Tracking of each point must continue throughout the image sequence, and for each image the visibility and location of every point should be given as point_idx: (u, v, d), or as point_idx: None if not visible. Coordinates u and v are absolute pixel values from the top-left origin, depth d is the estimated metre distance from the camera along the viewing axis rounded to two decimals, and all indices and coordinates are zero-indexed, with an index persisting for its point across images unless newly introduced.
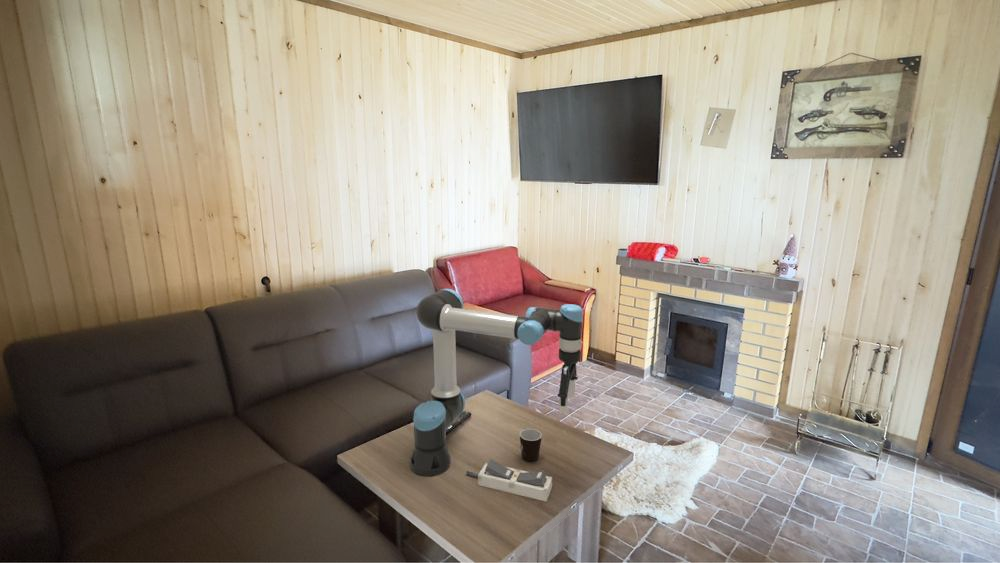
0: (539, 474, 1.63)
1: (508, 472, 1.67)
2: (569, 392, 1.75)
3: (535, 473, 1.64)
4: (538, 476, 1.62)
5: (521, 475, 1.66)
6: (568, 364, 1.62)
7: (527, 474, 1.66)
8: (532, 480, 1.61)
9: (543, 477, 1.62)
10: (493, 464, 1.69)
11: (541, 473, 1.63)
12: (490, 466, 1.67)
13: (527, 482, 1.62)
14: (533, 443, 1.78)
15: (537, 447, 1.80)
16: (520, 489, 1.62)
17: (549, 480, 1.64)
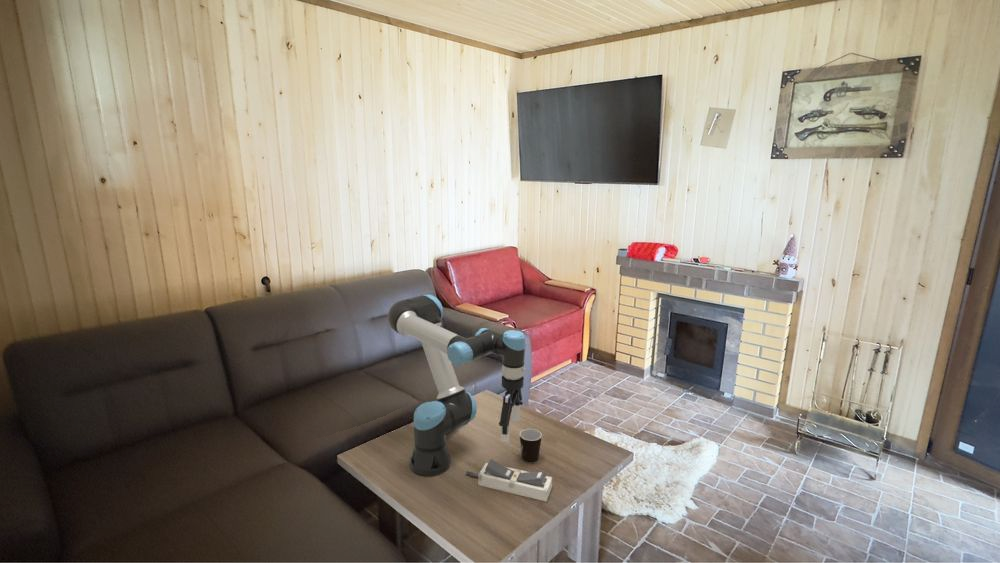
0: (539, 474, 1.63)
1: (508, 472, 1.67)
2: (514, 417, 1.72)
3: (535, 473, 1.64)
4: (538, 476, 1.62)
5: (521, 475, 1.66)
6: (510, 392, 1.59)
7: (527, 474, 1.66)
8: (532, 480, 1.61)
9: (543, 477, 1.62)
10: (493, 464, 1.69)
11: (541, 473, 1.63)
12: (490, 466, 1.67)
13: (527, 482, 1.62)
14: (533, 443, 1.78)
15: (537, 447, 1.80)
16: (520, 489, 1.62)
17: (549, 480, 1.64)
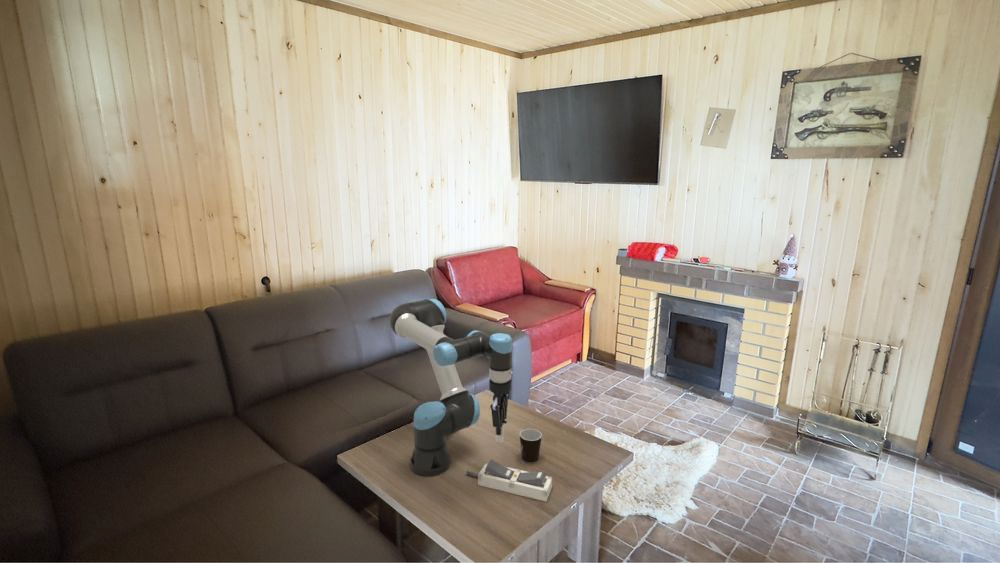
0: (539, 474, 1.63)
1: (508, 472, 1.67)
2: None
3: (535, 473, 1.64)
4: (538, 476, 1.62)
5: (521, 475, 1.66)
6: (497, 395, 1.57)
7: (527, 474, 1.66)
8: (532, 480, 1.61)
9: (543, 477, 1.62)
10: (493, 464, 1.69)
11: (541, 473, 1.63)
12: (490, 466, 1.67)
13: (527, 482, 1.62)
14: (533, 443, 1.78)
15: (537, 447, 1.80)
16: (520, 489, 1.62)
17: (549, 480, 1.64)
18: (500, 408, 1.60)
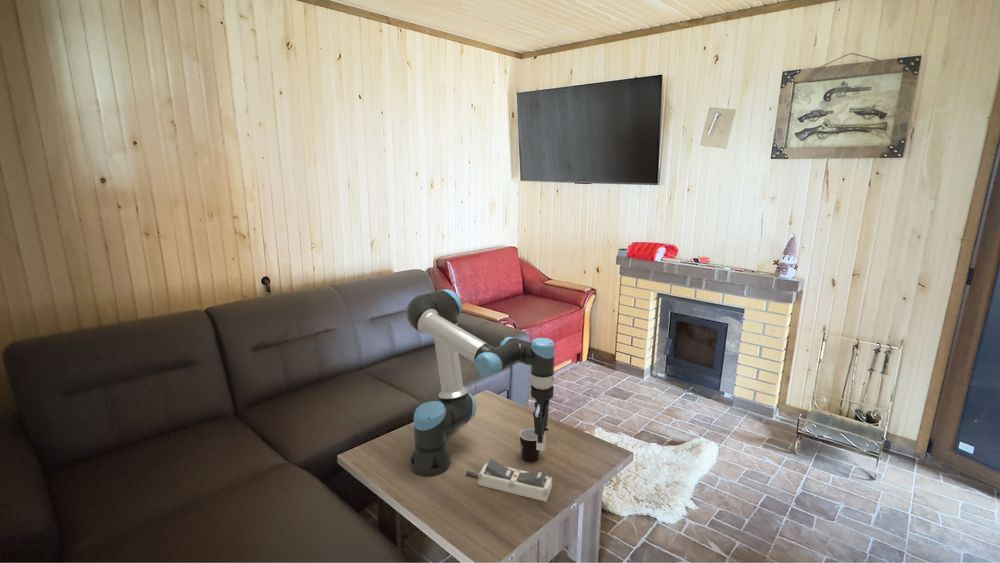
0: (539, 474, 1.63)
1: (508, 472, 1.67)
2: None
3: (535, 473, 1.64)
4: (538, 476, 1.62)
5: (521, 475, 1.66)
6: (540, 402, 1.52)
7: (527, 474, 1.66)
8: (532, 480, 1.61)
9: (543, 477, 1.62)
10: (493, 464, 1.69)
11: (541, 473, 1.63)
12: (490, 466, 1.67)
13: (527, 482, 1.62)
14: (533, 443, 1.78)
15: None
16: (520, 489, 1.62)
17: (549, 480, 1.64)
18: (542, 415, 1.55)
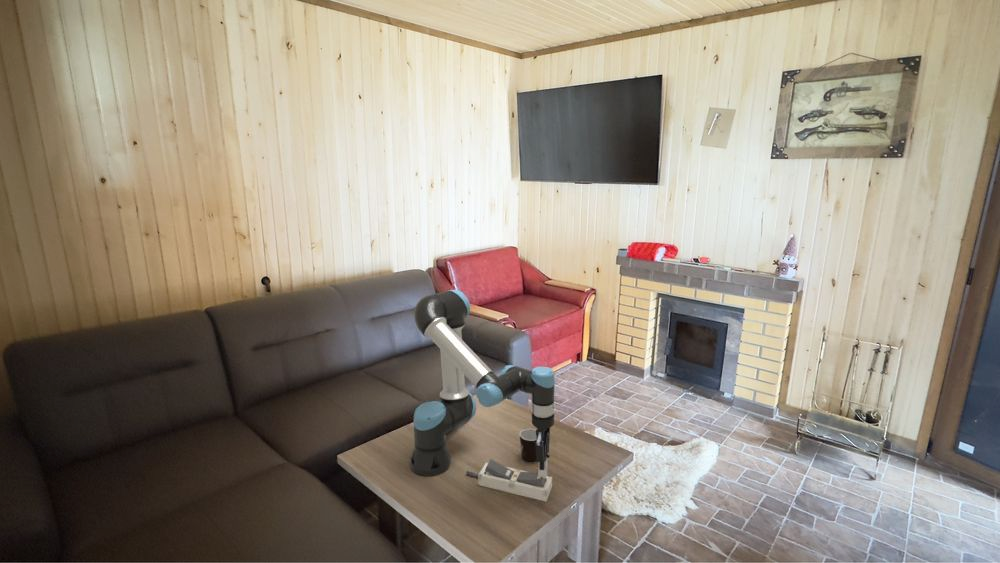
0: None
1: (508, 472, 1.67)
2: None
3: (535, 473, 1.64)
4: (539, 477, 1.62)
5: (521, 474, 1.66)
6: (541, 430, 1.55)
7: (527, 473, 1.66)
8: (533, 480, 1.61)
9: (543, 478, 1.62)
10: (493, 464, 1.69)
11: None
12: (490, 466, 1.67)
13: (527, 482, 1.62)
14: (533, 443, 1.78)
15: None
16: (520, 489, 1.62)
17: (549, 480, 1.64)
18: (543, 443, 1.57)
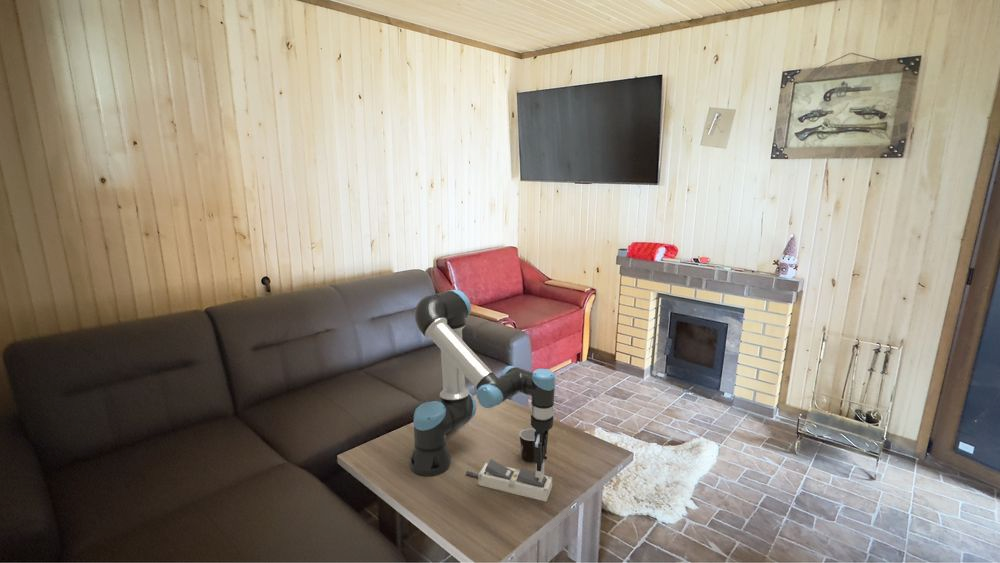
0: None
1: (508, 472, 1.67)
2: None
3: None
4: (540, 480, 1.62)
5: (522, 471, 1.65)
6: (540, 432, 1.55)
7: (528, 472, 1.65)
8: (533, 482, 1.61)
9: (543, 483, 1.63)
10: (493, 464, 1.69)
11: (543, 478, 1.63)
12: (490, 466, 1.67)
13: (527, 481, 1.62)
14: None
15: None
16: (520, 489, 1.62)
17: (549, 480, 1.64)
18: (542, 444, 1.58)
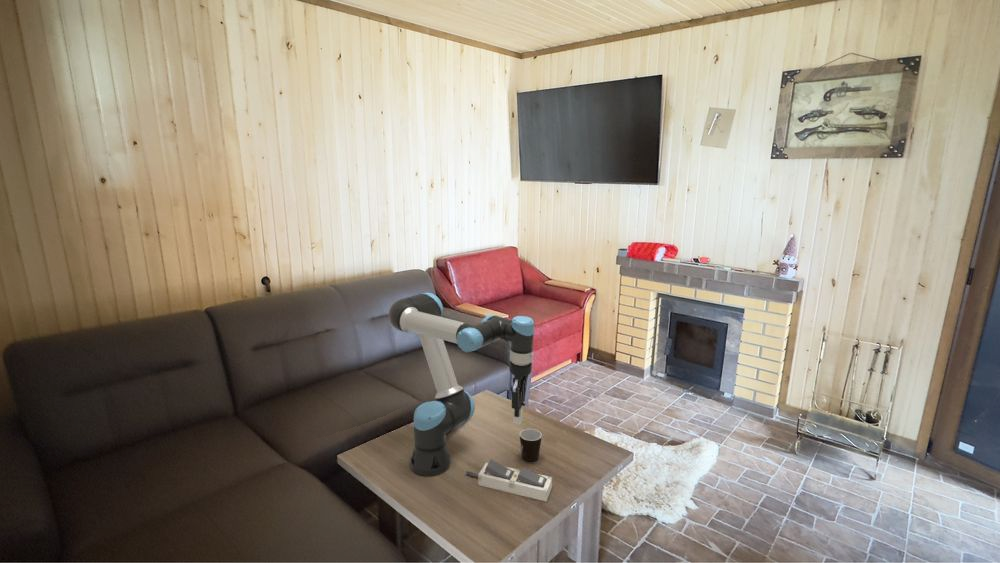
0: (541, 479, 1.63)
1: (508, 472, 1.67)
2: None
3: (537, 475, 1.64)
4: (540, 481, 1.62)
5: (522, 470, 1.65)
6: (518, 377, 1.58)
7: (528, 472, 1.65)
8: (533, 482, 1.61)
9: (543, 483, 1.63)
10: (493, 464, 1.69)
11: (543, 479, 1.63)
12: (490, 466, 1.67)
13: (527, 481, 1.62)
14: (533, 443, 1.78)
15: (537, 447, 1.80)
16: (520, 489, 1.62)
17: (549, 480, 1.64)
18: (520, 390, 1.61)
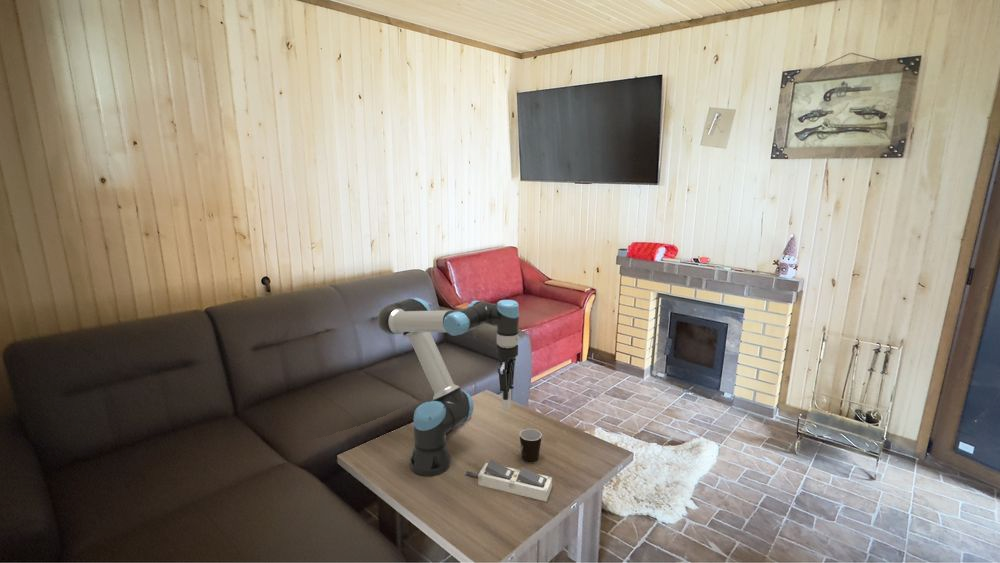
0: (541, 479, 1.63)
1: (508, 472, 1.67)
2: None
3: (537, 475, 1.64)
4: (540, 481, 1.62)
5: (523, 470, 1.65)
6: (505, 360, 1.62)
7: (528, 472, 1.65)
8: (533, 482, 1.61)
9: (543, 484, 1.63)
10: (493, 464, 1.69)
11: (543, 479, 1.63)
12: (490, 466, 1.67)
13: (527, 481, 1.62)
14: (533, 443, 1.78)
15: (537, 447, 1.80)
16: (520, 489, 1.62)
17: (549, 480, 1.64)
18: (507, 373, 1.64)
